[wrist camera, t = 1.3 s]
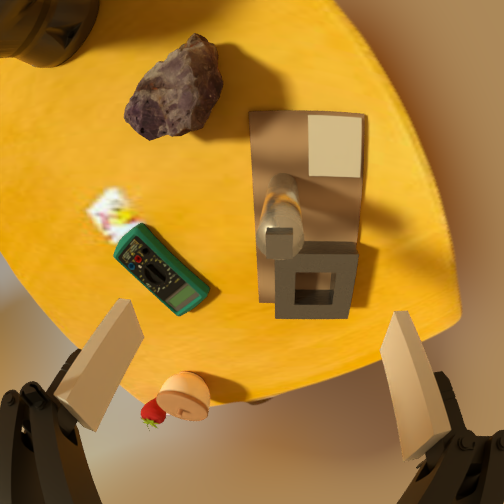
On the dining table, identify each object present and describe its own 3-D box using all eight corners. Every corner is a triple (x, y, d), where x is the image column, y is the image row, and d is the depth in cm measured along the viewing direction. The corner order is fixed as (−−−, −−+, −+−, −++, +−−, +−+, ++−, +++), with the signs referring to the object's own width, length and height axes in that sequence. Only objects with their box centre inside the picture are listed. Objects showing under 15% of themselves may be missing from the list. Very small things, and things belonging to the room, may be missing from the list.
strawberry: (176, 401, 60) (165, 433, 51) (160, 405, 63) (149, 435, 54) (158, 388, 58) (145, 421, 49) (143, 393, 61) (130, 424, 52)
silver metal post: (267, 173, 31) (252, 223, 18) (297, 172, 31) (305, 223, 18) (268, 200, 33) (255, 268, 20) (297, 200, 32) (303, 269, 19)
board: (249, 111, 29) (248, 111, 28) (362, 113, 27) (364, 113, 26) (259, 300, 41) (259, 302, 40) (346, 300, 39) (347, 303, 39)
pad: (307, 114, 27) (308, 114, 27) (360, 117, 27) (361, 117, 26) (308, 174, 31) (309, 175, 30) (358, 176, 30) (360, 177, 29)
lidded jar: (183, 357, 50) (169, 396, 42) (225, 384, 53) (217, 422, 45) (158, 374, 55) (144, 407, 46) (196, 397, 57) (187, 430, 49)
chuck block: (275, 240, 35) (274, 253, 32) (353, 241, 34) (358, 254, 31) (276, 303, 40) (275, 318, 37) (344, 303, 39) (347, 318, 36)
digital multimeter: (140, 217, 37) (130, 225, 35) (213, 287, 41) (208, 299, 39) (117, 246, 40) (107, 255, 38) (184, 308, 44) (178, 320, 42)
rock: (144, 101, 30) (197, 149, 32) (100, 111, 23) (161, 169, 25) (199, 30, 23) (261, 80, 26) (160, 18, 17) (239, 77, 19)
